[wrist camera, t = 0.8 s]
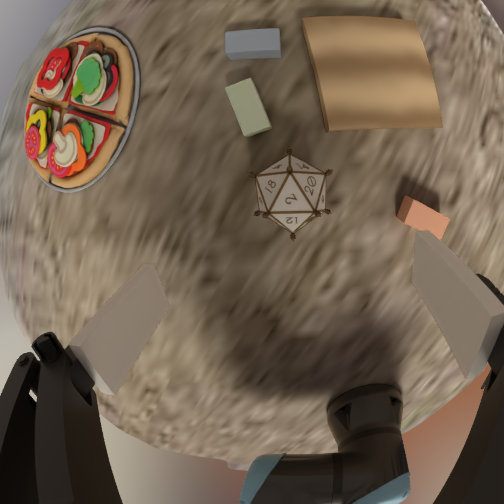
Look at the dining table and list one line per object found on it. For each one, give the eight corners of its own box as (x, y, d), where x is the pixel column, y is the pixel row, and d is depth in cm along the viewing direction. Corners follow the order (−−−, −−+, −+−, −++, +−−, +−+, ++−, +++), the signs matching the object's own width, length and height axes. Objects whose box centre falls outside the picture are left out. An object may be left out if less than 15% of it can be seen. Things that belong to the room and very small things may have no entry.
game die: (285, 170, 34) (278, 117, 24) (342, 204, 31) (356, 155, 22) (242, 223, 33) (219, 181, 23) (300, 263, 30) (301, 232, 21)
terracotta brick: (439, 213, 29) (449, 219, 26) (430, 233, 30) (440, 241, 27) (404, 194, 29) (413, 199, 26) (395, 216, 30) (404, 222, 28)
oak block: (431, 128, 25) (442, 127, 22) (326, 132, 28) (329, 130, 25) (406, 29, 20) (414, 21, 18) (301, 27, 23) (302, 17, 20)
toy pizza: (58, 30, 25) (42, 26, 21) (175, 36, 26) (161, 25, 22) (18, 165, 36) (2, 169, 32) (110, 217, 37) (92, 225, 33)
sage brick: (272, 128, 29) (270, 126, 26) (248, 137, 30) (243, 135, 27) (254, 83, 27) (250, 77, 24) (230, 92, 28) (224, 87, 25)
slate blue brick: (280, 37, 24) (279, 28, 22) (281, 58, 25) (280, 50, 23) (230, 40, 25) (225, 32, 22) (230, 60, 26) (225, 53, 24)
